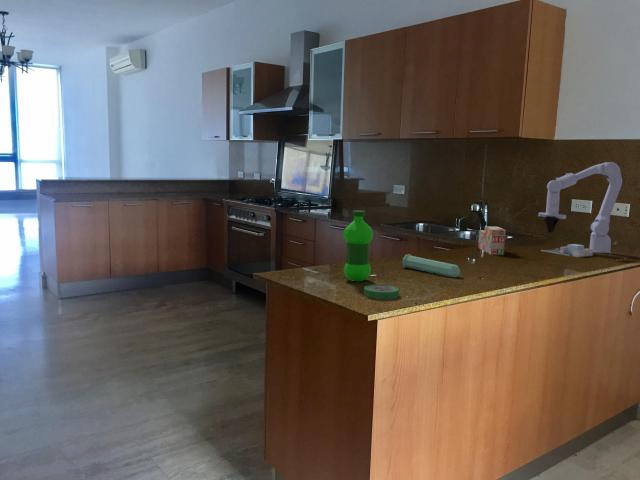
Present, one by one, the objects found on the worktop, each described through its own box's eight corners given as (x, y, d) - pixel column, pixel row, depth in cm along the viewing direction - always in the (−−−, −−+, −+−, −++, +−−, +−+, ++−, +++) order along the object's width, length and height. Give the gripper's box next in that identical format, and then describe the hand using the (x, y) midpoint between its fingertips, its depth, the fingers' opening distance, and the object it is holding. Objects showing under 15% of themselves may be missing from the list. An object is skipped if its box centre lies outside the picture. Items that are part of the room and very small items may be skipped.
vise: (556, 251, 273) (557, 243, 272) (593, 257, 255) (594, 249, 255) (540, 252, 267) (540, 244, 266) (576, 259, 250) (577, 250, 249)
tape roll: (400, 293, 180) (400, 285, 179) (396, 301, 169) (396, 293, 169) (367, 291, 183) (367, 283, 182) (360, 298, 172) (361, 290, 172)
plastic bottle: (363, 284, 190) (365, 212, 187) (337, 281, 196) (338, 211, 192) (376, 279, 199) (378, 210, 195) (350, 276, 204) (352, 209, 201)
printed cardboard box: (477, 248, 280) (479, 224, 278) (490, 248, 280) (491, 224, 278) (490, 255, 259) (492, 229, 257) (504, 255, 259) (505, 229, 257)
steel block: (573, 253, 261) (574, 244, 260) (583, 255, 256) (584, 245, 256) (566, 254, 258) (567, 244, 257) (576, 255, 254) (577, 246, 253)
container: (461, 261, 206) (410, 251, 224) (451, 269, 202) (400, 258, 221) (463, 275, 208) (413, 264, 227) (454, 282, 205) (403, 270, 224)
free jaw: (571, 251, 264) (571, 245, 264) (577, 252, 262) (577, 246, 261) (557, 252, 260) (557, 246, 259) (563, 253, 257) (563, 247, 256)
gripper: (535, 203, 274) (533, 230, 276) (560, 206, 262) (557, 234, 264) (544, 203, 278) (542, 230, 279) (569, 205, 265) (567, 233, 267)
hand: (550, 232), depth 272 cm, fingers closed
